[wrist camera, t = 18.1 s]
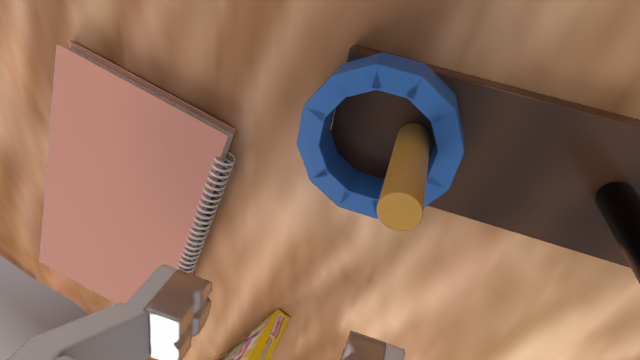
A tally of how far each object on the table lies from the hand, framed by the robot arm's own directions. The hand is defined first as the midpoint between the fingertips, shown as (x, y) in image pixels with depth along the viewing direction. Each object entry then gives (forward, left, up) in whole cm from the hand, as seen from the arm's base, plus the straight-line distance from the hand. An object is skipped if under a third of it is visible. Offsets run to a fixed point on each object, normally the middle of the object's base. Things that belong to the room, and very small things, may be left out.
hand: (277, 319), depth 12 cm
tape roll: (+3, -1, -21) cm, 22 cm away
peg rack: (+9, +6, -23) cm, 25 cm away
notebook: (0, -28, -23) cm, 36 cm away
